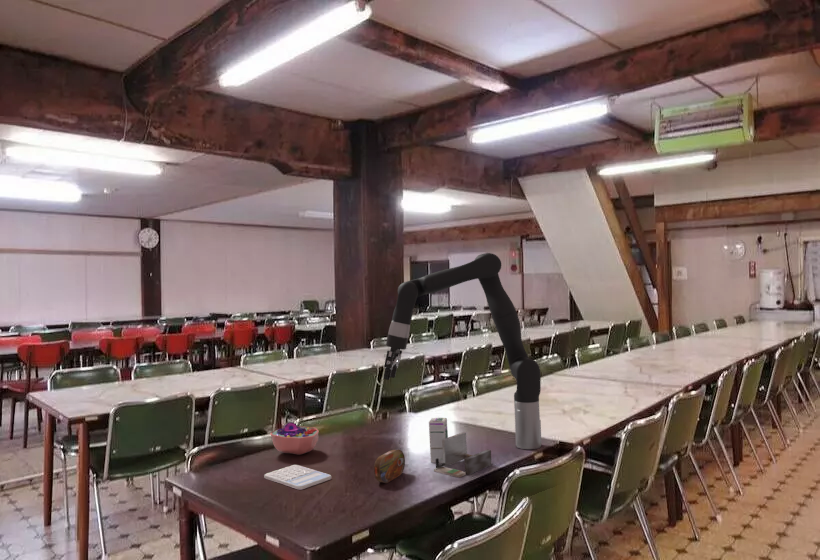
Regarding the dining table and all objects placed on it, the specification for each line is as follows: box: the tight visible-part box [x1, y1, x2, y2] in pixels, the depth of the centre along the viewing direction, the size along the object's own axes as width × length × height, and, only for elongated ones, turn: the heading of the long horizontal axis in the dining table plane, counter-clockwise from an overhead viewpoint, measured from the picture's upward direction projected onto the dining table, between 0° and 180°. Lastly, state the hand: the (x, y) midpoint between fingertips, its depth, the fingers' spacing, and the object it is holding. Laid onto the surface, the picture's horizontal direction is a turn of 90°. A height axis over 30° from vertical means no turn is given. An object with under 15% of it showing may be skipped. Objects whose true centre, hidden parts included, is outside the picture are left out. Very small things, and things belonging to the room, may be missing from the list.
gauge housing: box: [433, 449, 492, 478], centre depth 193 cm, size 18×12×5 cm, turn 138°
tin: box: [373, 449, 406, 484], centre depth 185 cm, size 15×3×8 cm, turn 149°
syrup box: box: [428, 417, 449, 464], centre depth 202 cm, size 6×6×14 cm
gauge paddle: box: [435, 431, 468, 468], centre depth 195 cm, size 16×1×9 cm, turn 138°
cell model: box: [269, 421, 319, 456], centre depth 217 cm, size 17×20×11 cm
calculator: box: [263, 464, 332, 490], centre depth 188 cm, size 13×20×2 cm, turn 48°
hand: (389, 378), depth 209 cm, fingers open, 8 cm apart
